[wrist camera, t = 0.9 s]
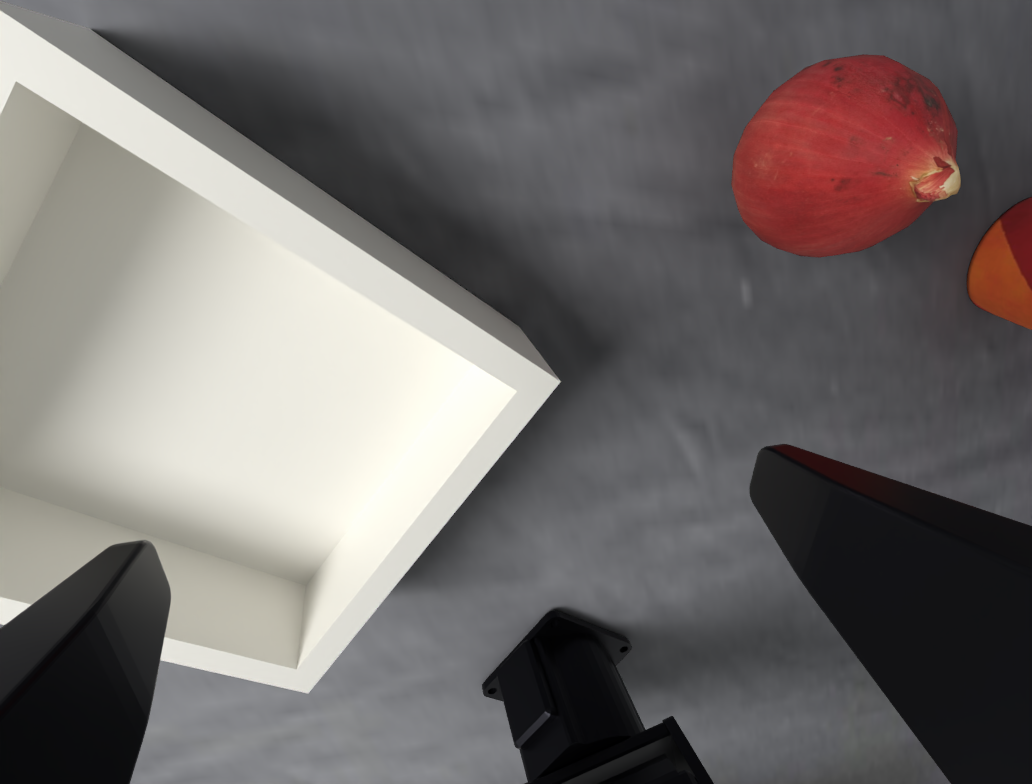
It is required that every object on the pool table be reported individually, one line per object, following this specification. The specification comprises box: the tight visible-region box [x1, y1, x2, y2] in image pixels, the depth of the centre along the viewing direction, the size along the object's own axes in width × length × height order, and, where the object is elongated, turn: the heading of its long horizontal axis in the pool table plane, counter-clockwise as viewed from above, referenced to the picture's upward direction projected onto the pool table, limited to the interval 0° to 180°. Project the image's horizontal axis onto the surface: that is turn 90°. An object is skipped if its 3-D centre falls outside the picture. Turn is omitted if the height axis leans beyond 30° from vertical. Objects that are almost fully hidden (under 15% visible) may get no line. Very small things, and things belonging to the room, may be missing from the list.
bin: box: [0, 1, 561, 693], centre depth 17 cm, size 15×15×5 cm
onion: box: [731, 55, 961, 257], centre depth 17 cm, size 6×6×8 cm
